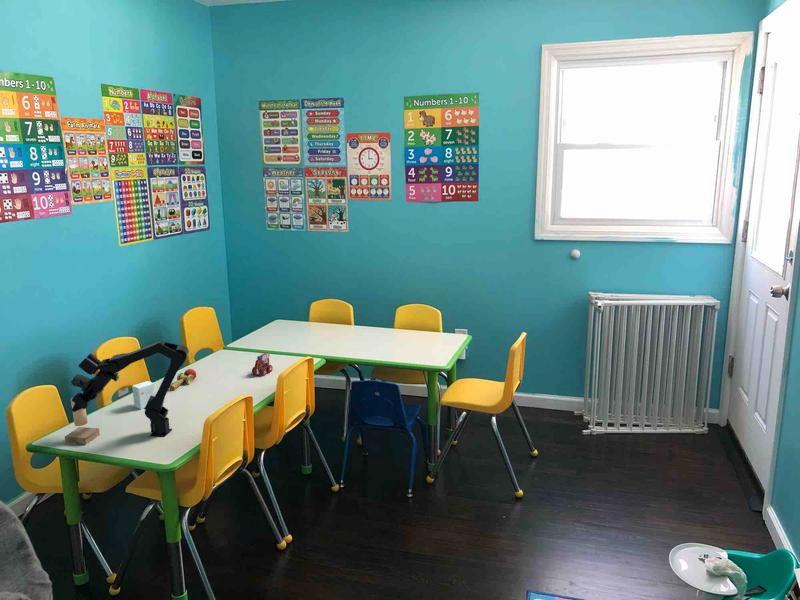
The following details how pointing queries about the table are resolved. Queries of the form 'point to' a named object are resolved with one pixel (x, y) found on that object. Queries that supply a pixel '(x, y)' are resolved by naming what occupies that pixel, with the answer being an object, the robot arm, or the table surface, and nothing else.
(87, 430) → the base slab
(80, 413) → the cylinder block
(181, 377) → the kendama
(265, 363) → the toy fire truck
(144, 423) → the table surface
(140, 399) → the small box
